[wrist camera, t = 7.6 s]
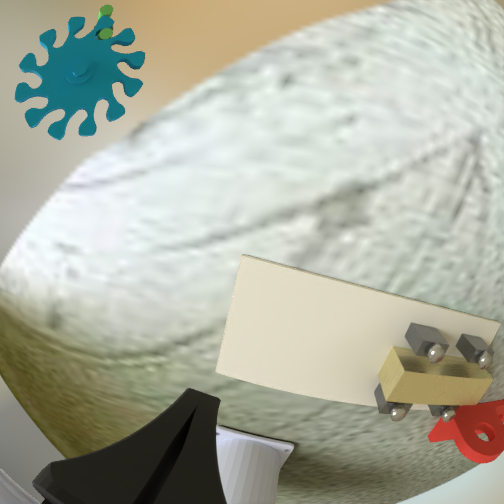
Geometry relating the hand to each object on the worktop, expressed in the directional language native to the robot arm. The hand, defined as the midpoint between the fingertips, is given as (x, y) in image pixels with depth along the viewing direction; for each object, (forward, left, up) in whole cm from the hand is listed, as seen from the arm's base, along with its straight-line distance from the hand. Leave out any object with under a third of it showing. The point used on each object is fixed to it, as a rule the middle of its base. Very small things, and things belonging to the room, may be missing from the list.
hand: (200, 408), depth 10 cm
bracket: (-8, -28, -10) cm, 31 cm away
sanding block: (-1, -16, -10) cm, 19 cm away
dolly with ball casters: (-1, -16, -10) cm, 19 cm away
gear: (+15, +15, -10) cm, 23 cm away
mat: (-1, -11, -10) cm, 15 cm away
